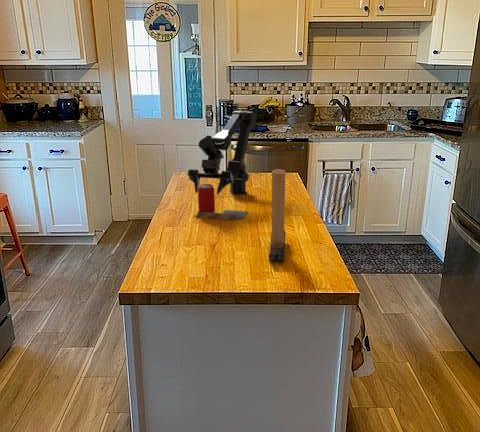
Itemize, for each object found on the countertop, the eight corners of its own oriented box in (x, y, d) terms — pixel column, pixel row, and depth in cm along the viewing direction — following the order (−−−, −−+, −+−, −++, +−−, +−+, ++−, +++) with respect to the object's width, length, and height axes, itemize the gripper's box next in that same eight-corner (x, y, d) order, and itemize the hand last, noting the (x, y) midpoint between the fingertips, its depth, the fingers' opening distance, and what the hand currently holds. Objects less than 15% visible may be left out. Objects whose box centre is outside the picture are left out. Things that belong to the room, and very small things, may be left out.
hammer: (284, 270, 152) (286, 186, 138) (268, 270, 153) (268, 186, 138) (285, 237, 170) (287, 159, 155) (271, 236, 170) (272, 158, 155)
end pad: (219, 217, 195) (219, 216, 195) (224, 210, 203) (224, 209, 203) (243, 219, 192) (243, 218, 192) (247, 212, 201) (247, 211, 201)
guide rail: (197, 217, 195) (197, 212, 194) (198, 216, 196) (198, 211, 195) (235, 220, 191) (235, 215, 191) (236, 219, 193) (236, 214, 192)
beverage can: (216, 210, 203) (215, 183, 199) (213, 216, 196) (212, 188, 192) (200, 210, 203) (199, 183, 199) (197, 215, 197) (196, 187, 193)
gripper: (188, 150, 199) (180, 182, 193) (231, 152, 195) (224, 185, 189) (194, 164, 209) (187, 195, 202) (236, 166, 205) (229, 198, 198)
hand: (206, 193), depth 198 cm, fingers open, 9 cm apart
